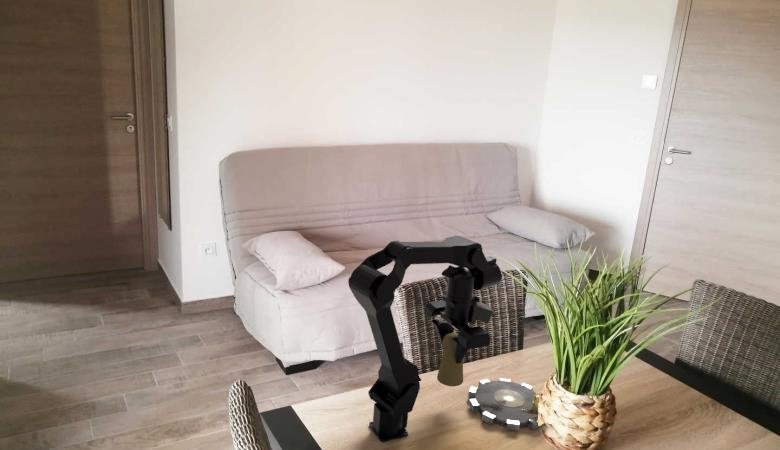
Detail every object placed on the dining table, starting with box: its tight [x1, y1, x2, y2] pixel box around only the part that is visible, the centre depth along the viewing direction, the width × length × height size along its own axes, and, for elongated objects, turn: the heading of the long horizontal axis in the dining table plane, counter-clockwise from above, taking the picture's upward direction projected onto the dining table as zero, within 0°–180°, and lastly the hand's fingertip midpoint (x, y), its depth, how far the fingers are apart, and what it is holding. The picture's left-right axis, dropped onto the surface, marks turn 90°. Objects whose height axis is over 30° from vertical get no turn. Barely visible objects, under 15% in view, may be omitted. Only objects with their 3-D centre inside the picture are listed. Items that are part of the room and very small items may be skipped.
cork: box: [436, 332, 464, 387], centre depth 131 cm, size 6×6×11 cm
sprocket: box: [467, 377, 541, 432], centre depth 134 cm, size 19×18×6 cm
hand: (452, 357), depth 131 cm, fingers closed on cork, 5 cm apart
